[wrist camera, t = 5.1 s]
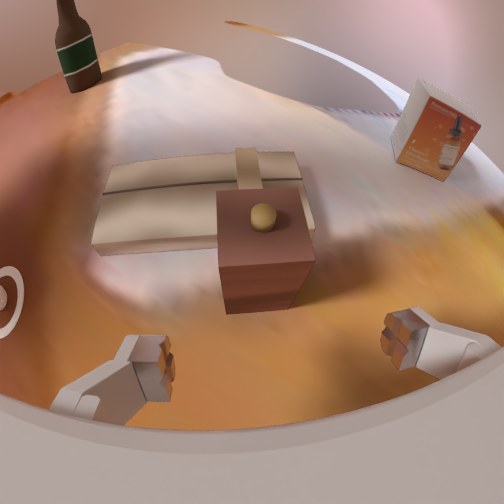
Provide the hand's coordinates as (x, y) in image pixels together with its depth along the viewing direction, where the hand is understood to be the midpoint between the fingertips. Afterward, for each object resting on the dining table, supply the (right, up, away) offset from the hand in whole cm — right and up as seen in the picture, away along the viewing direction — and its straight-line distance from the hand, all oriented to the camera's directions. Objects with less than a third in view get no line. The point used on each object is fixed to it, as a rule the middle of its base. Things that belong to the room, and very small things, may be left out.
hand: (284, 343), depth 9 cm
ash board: (-6, +7, +15) cm, 17 cm away
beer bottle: (-35, +37, +29) cm, 59 cm away
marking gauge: (-1, +4, +13) cm, 14 cm away
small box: (+21, +15, +20) cm, 33 cm away
